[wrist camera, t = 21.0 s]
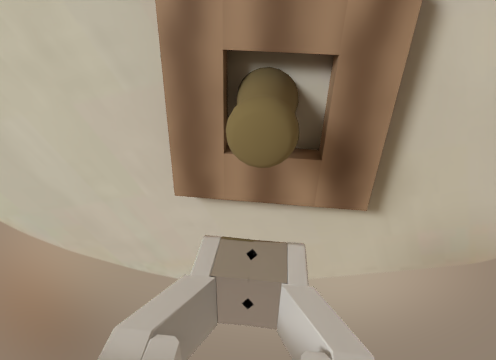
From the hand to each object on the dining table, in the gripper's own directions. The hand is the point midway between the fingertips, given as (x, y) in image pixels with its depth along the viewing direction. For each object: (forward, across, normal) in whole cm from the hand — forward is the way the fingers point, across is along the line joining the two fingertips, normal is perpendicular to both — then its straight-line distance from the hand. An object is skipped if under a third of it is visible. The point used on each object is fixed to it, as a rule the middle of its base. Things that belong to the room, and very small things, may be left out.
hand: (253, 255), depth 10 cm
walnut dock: (+23, 0, +2) cm, 23 cm away
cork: (+23, +1, +2) cm, 23 cm away
